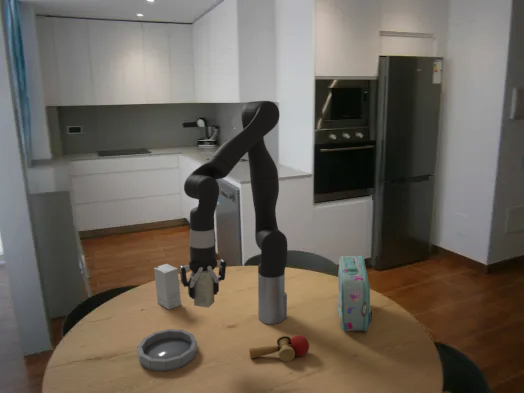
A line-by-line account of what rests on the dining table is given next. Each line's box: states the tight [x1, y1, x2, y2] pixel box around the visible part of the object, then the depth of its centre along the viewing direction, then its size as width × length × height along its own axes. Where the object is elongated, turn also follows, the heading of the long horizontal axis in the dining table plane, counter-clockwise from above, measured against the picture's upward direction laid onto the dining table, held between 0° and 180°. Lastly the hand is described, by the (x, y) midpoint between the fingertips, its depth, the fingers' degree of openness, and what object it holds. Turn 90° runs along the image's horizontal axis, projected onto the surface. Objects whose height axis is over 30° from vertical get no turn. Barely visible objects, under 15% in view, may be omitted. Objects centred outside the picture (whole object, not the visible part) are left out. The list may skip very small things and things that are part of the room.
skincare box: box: [153, 263, 182, 311], centre depth 156 cm, size 8×6×15 cm
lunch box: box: [336, 255, 373, 332], centre depth 144 cm, size 27×10×21 cm, turn 173°
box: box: [191, 270, 215, 309], centre depth 124 cm, size 5×4×11 cm
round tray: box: [137, 328, 198, 372], centre depth 126 cm, size 17×17×3 cm
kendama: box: [248, 334, 310, 362], centre depth 124 cm, size 8×6×18 cm
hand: (203, 295), depth 124 cm, fingers closed on box, 6 cm apart
